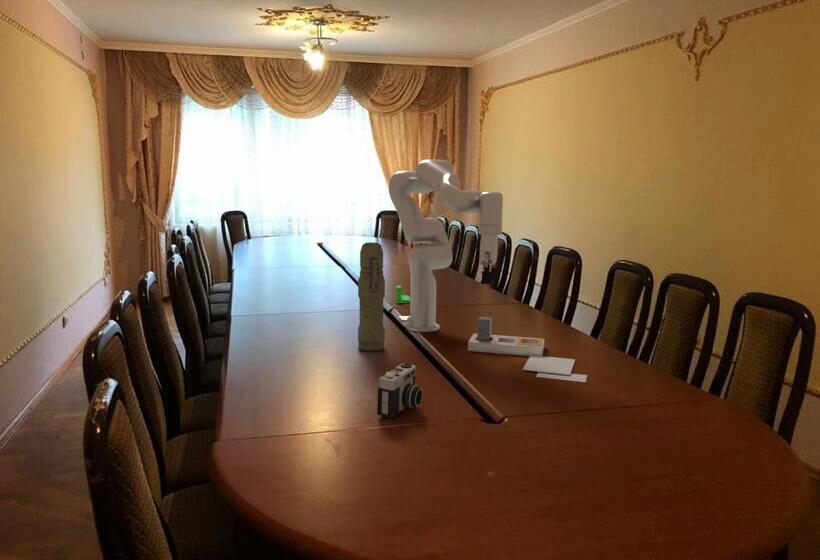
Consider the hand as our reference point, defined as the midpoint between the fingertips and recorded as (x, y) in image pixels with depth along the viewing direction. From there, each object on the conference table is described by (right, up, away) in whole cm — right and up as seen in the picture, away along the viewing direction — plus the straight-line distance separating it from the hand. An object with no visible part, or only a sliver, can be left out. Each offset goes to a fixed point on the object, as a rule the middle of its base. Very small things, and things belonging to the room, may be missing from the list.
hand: (488, 281), depth 213 cm
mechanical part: (-29, -10, +78) cm, 84 cm away
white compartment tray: (+6, -23, +2) cm, 24 cm away
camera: (-28, -32, -54) cm, 68 cm away
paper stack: (+20, -27, -21) cm, 40 cm away
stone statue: (-39, -22, +1) cm, 45 cm away
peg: (-1, -22, +3) cm, 23 cm away
